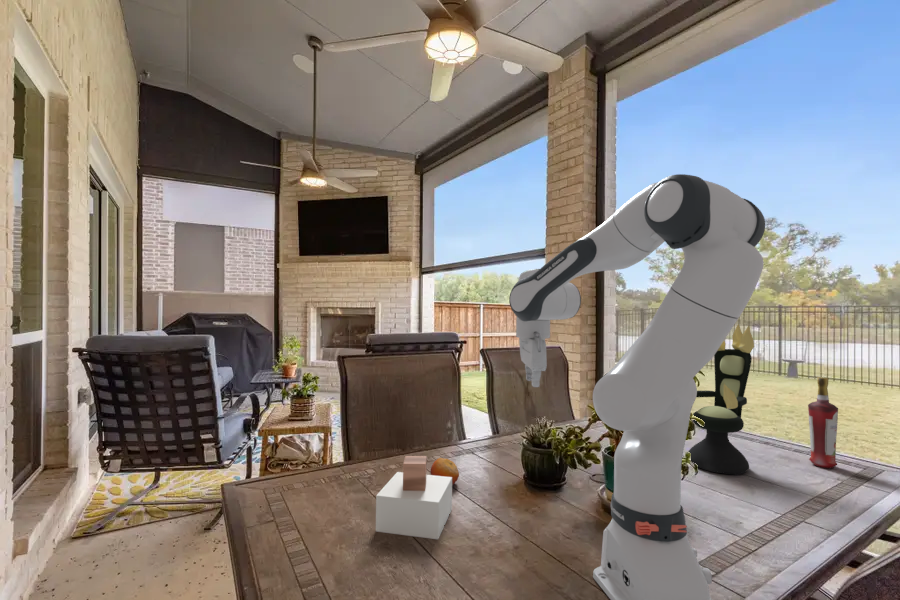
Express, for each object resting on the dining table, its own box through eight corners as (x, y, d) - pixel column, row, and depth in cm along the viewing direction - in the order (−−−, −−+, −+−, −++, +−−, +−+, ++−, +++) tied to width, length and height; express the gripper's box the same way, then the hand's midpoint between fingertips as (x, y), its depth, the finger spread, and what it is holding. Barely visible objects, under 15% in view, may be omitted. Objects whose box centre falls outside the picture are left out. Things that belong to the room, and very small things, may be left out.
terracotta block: (425, 490, 97) (425, 463, 97) (402, 490, 97) (403, 463, 97) (426, 481, 102) (426, 456, 102) (405, 481, 102) (405, 455, 102)
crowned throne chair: (669, 459, 142) (670, 322, 143) (713, 451, 151) (714, 322, 152) (727, 480, 125) (727, 324, 126) (773, 469, 134) (773, 324, 135)
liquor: (813, 460, 143) (813, 375, 144) (842, 467, 137) (841, 378, 138) (804, 464, 140) (804, 377, 140) (833, 471, 133) (833, 380, 134)
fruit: (427, 472, 125) (442, 449, 124) (450, 488, 123) (465, 465, 122) (420, 483, 117) (435, 459, 116) (444, 501, 115) (460, 476, 115)
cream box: (438, 540, 91) (438, 502, 91) (375, 532, 94) (376, 495, 94) (451, 510, 105) (452, 477, 105) (396, 504, 108) (397, 471, 108)
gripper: (553, 333, 104) (552, 391, 104) (538, 329, 125) (537, 377, 124) (526, 333, 104) (526, 390, 104) (516, 329, 125) (515, 377, 125)
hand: (532, 383), depth 114 cm, fingers open, 8 cm apart
